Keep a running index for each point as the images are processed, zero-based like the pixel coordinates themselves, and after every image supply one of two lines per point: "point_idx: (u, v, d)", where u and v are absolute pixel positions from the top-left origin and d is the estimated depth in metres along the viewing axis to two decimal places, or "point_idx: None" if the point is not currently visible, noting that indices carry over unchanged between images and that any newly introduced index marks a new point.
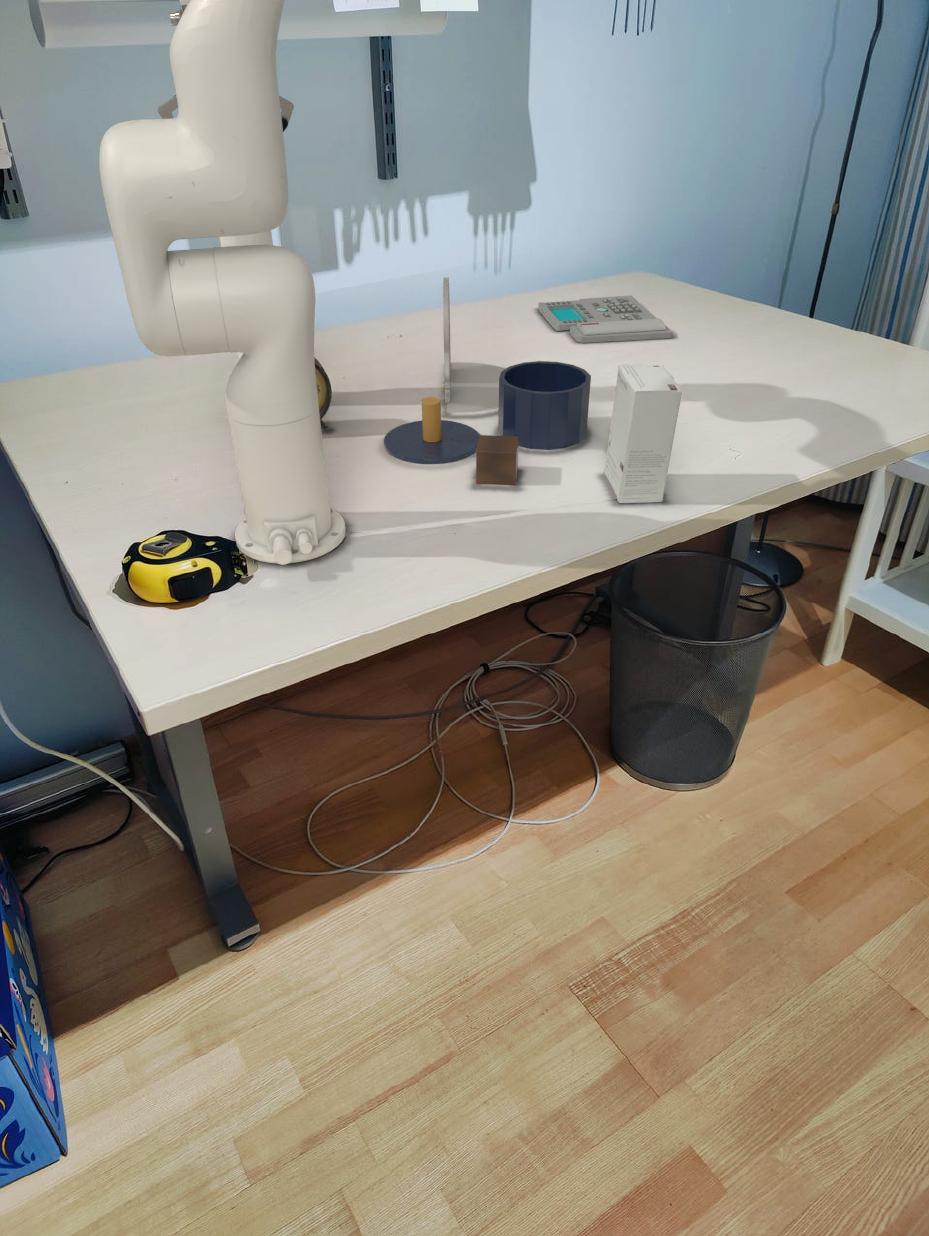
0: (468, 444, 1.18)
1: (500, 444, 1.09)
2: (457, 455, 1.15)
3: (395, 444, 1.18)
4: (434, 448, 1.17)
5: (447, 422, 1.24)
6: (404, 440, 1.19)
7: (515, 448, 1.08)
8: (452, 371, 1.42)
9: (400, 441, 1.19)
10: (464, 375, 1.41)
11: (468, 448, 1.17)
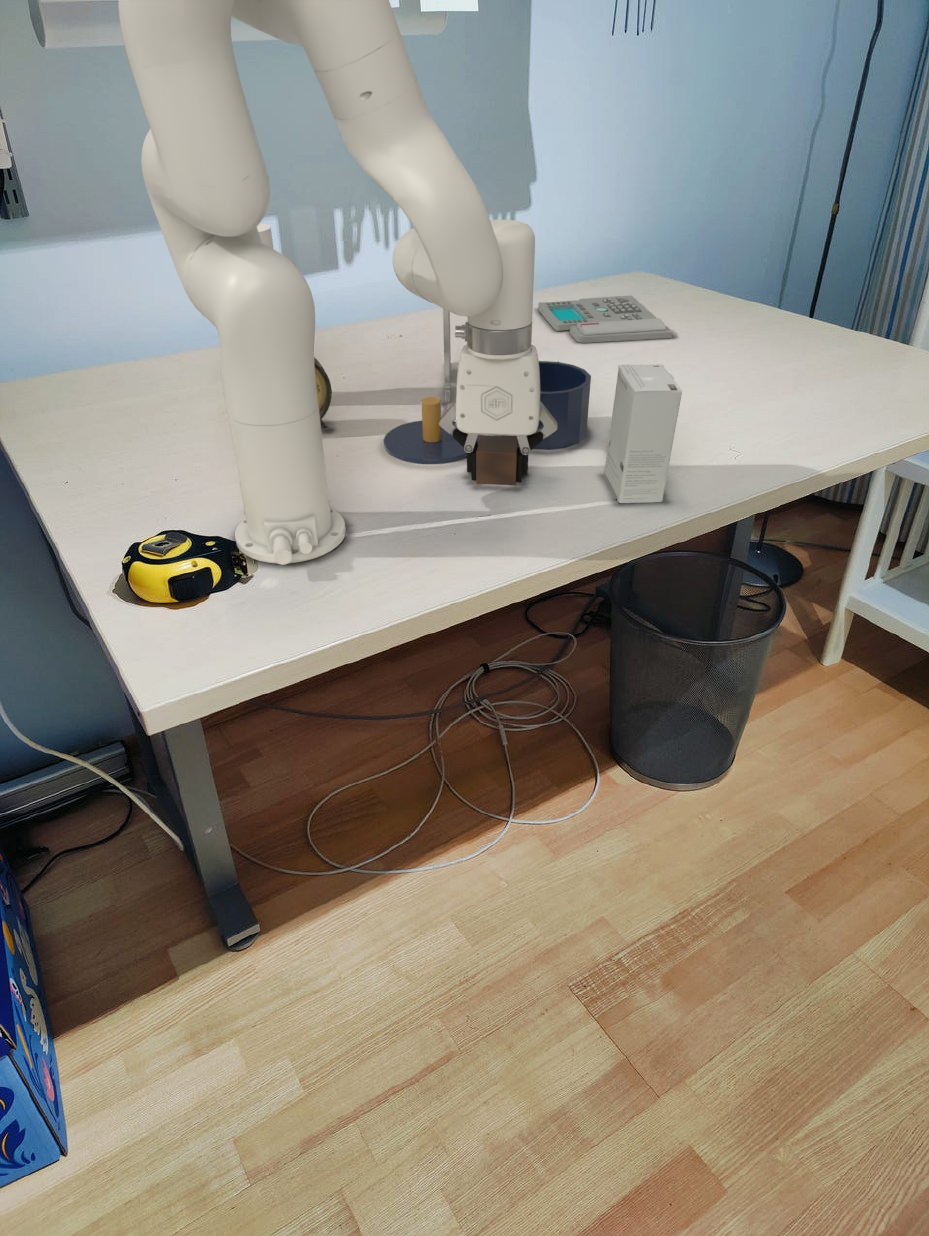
0: None
1: (500, 444, 1.09)
2: (457, 455, 1.15)
3: (395, 444, 1.18)
4: (434, 448, 1.17)
5: None
6: (404, 440, 1.19)
7: (515, 448, 1.08)
8: (452, 371, 1.42)
9: (400, 441, 1.19)
10: None
11: None
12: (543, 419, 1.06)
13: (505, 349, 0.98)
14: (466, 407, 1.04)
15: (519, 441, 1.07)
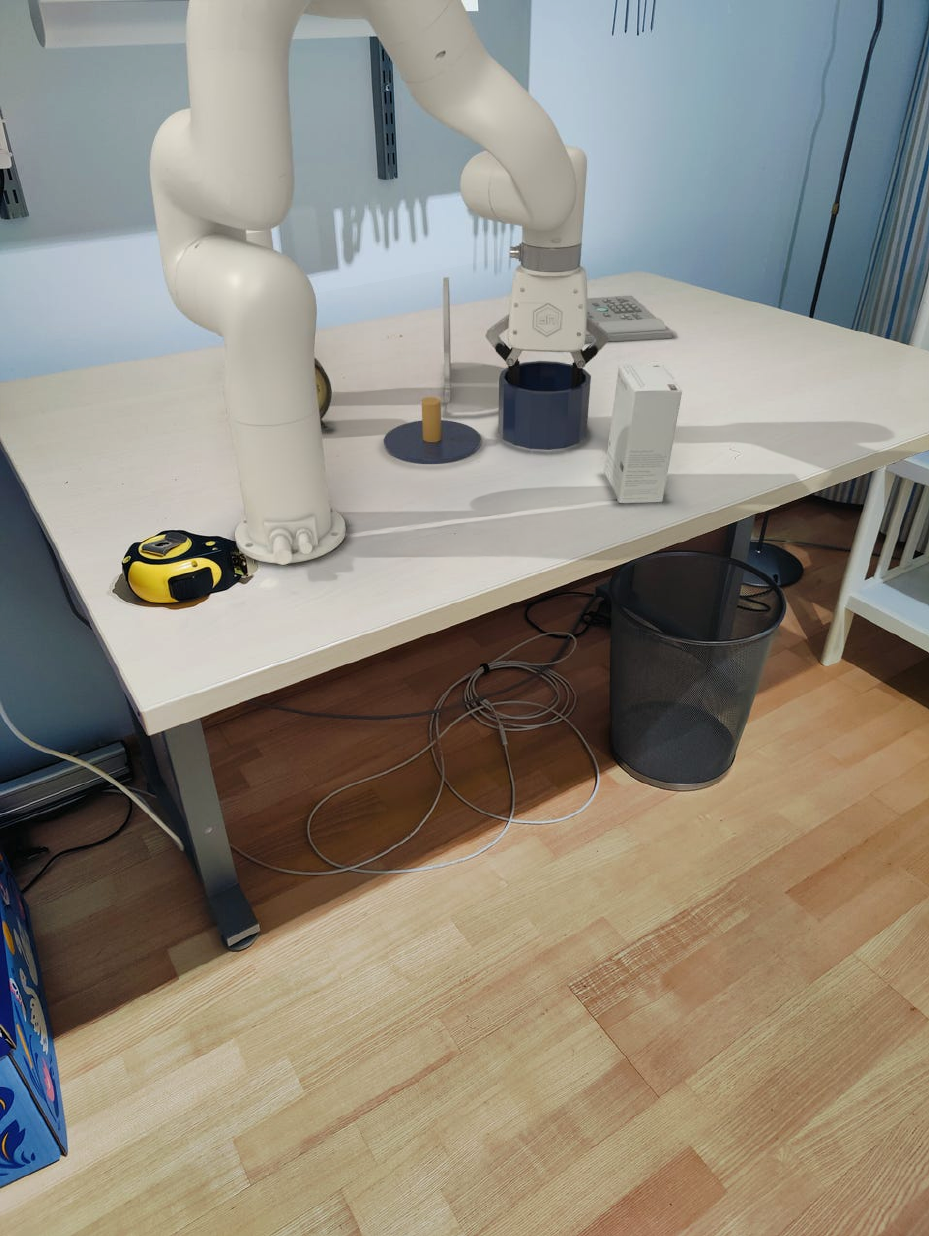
0: (468, 444, 1.18)
1: None
2: (457, 455, 1.15)
3: (395, 444, 1.18)
4: (434, 448, 1.17)
5: (447, 422, 1.24)
6: (404, 440, 1.19)
7: None
8: (452, 371, 1.42)
9: (400, 441, 1.19)
10: (464, 375, 1.41)
11: (468, 448, 1.17)
12: (594, 333, 1.13)
13: (557, 266, 1.06)
14: (518, 324, 1.12)
15: (573, 356, 1.15)
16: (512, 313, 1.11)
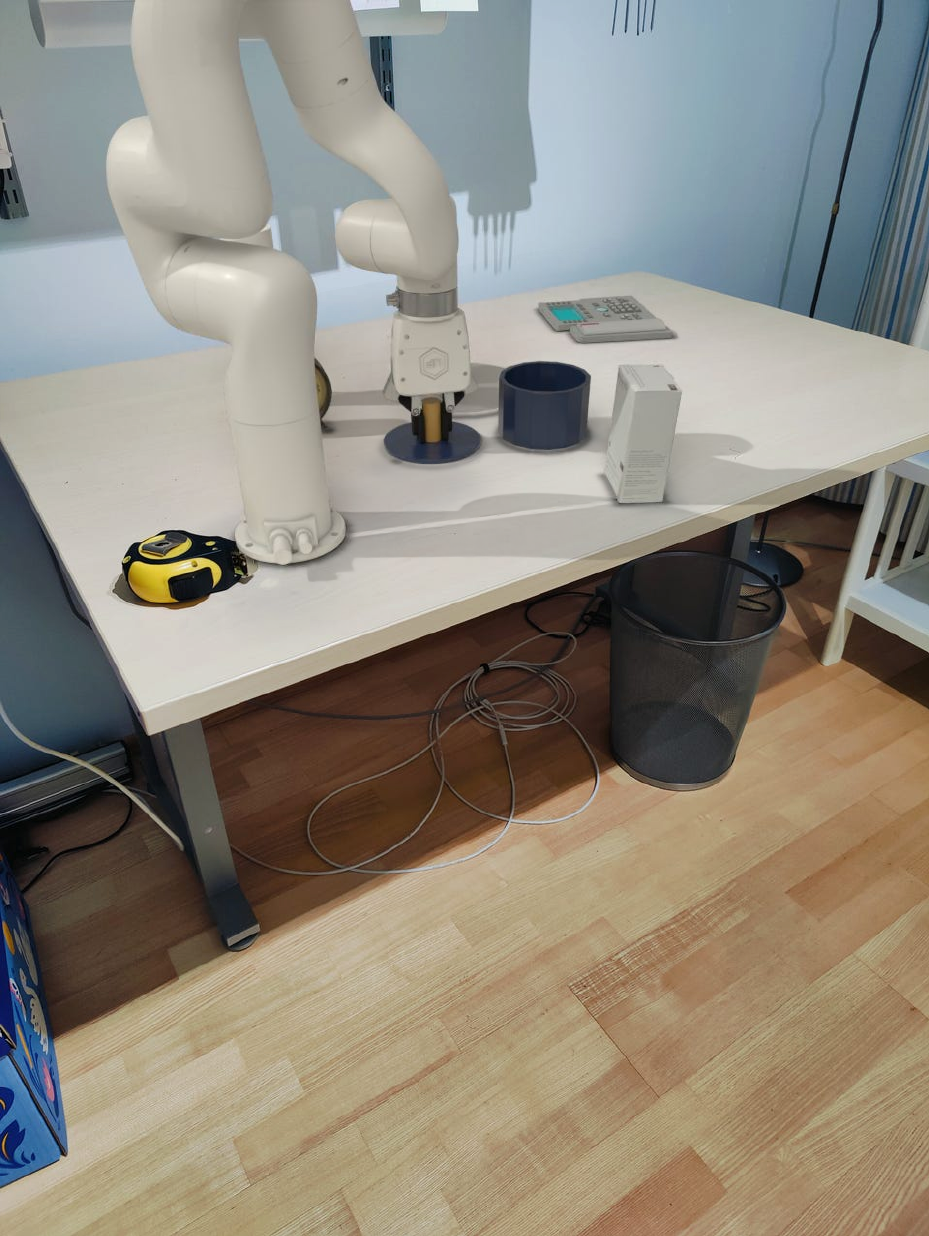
0: (468, 444, 1.18)
1: None
2: (457, 455, 1.15)
3: (395, 444, 1.18)
4: (434, 448, 1.17)
5: None
6: (404, 440, 1.19)
7: None
8: None
9: (400, 441, 1.19)
10: None
11: (468, 448, 1.17)
12: None
13: (441, 310, 1.06)
14: (406, 371, 1.10)
15: (446, 399, 1.15)
16: (398, 361, 1.09)
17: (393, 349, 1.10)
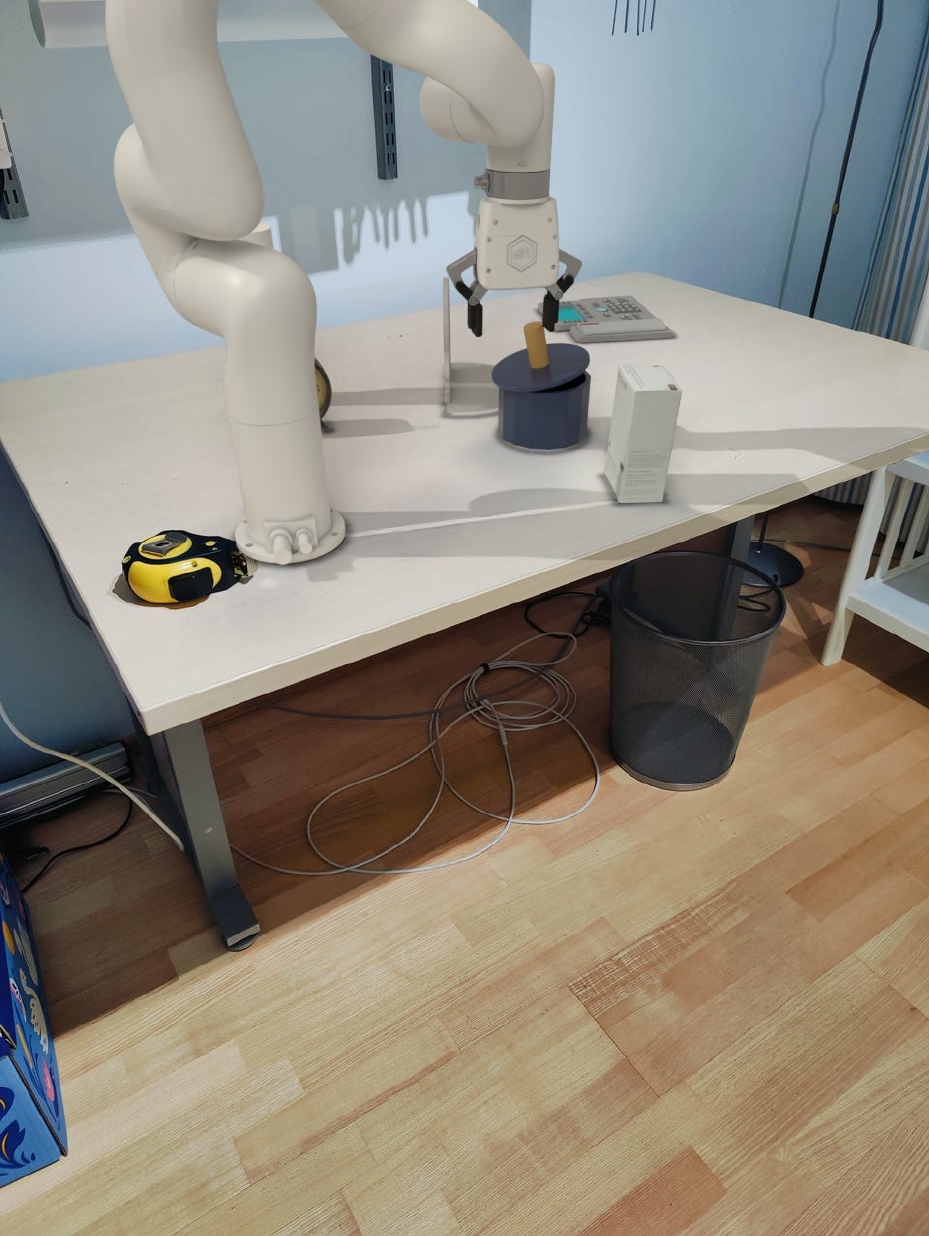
0: (578, 362, 1.15)
1: None
2: (569, 375, 1.12)
3: (503, 377, 1.16)
4: (544, 373, 1.14)
5: (551, 345, 1.21)
6: (512, 371, 1.17)
7: None
8: (452, 371, 1.42)
9: (508, 373, 1.17)
10: (464, 375, 1.41)
11: (578, 366, 1.14)
12: (566, 261, 1.08)
13: (534, 192, 1.00)
14: (492, 261, 1.04)
15: (550, 289, 1.09)
16: (485, 249, 1.03)
17: (479, 237, 1.03)
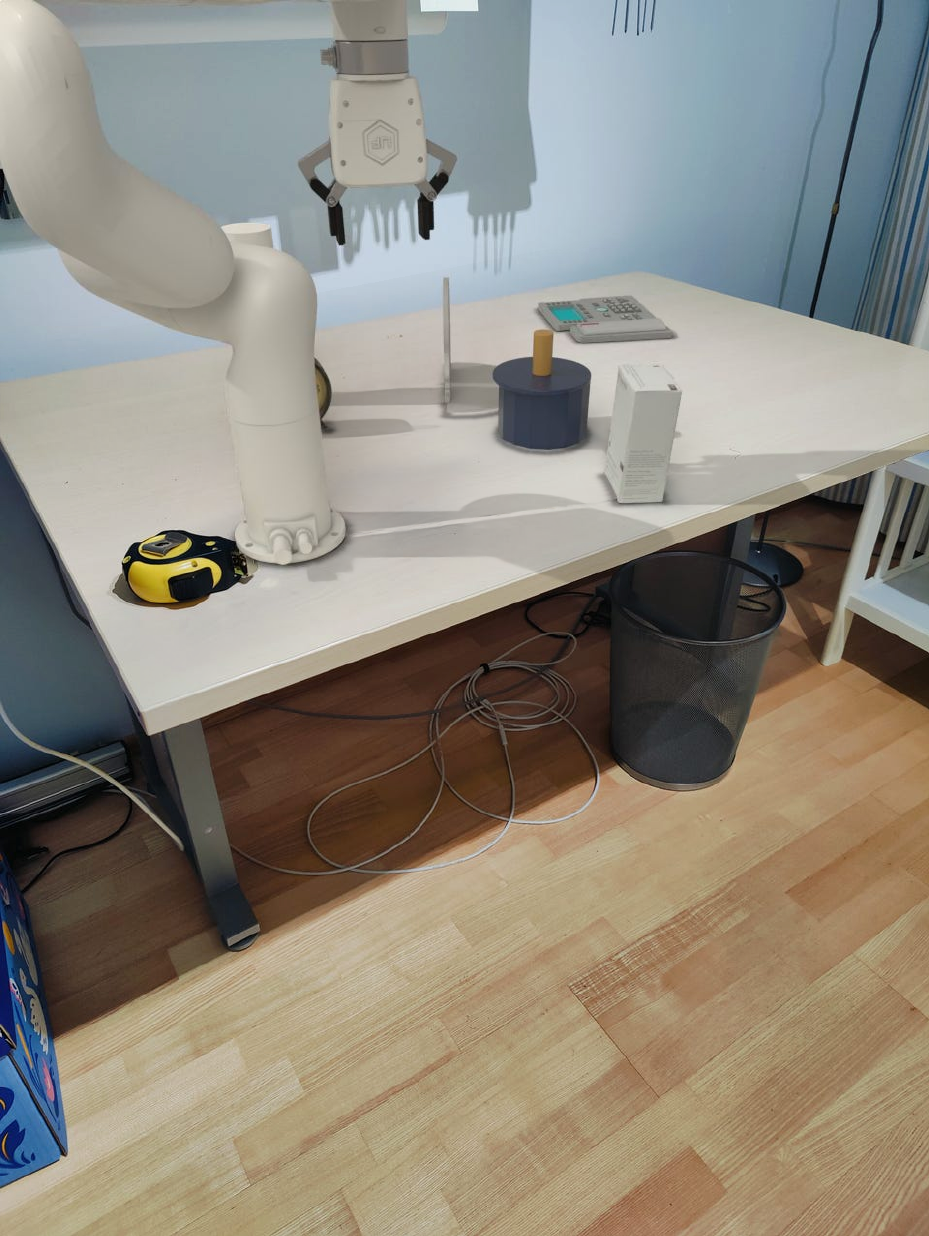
0: (580, 377, 1.16)
1: None
2: (571, 387, 1.13)
3: (505, 377, 1.16)
4: (546, 381, 1.15)
5: (553, 358, 1.22)
6: (514, 374, 1.17)
7: None
8: (452, 371, 1.42)
9: (510, 375, 1.17)
10: (464, 375, 1.41)
11: (580, 381, 1.15)
12: (438, 154, 0.94)
13: (387, 66, 0.86)
14: (346, 151, 0.90)
15: (420, 188, 0.95)
16: (337, 137, 0.89)
17: (330, 123, 0.90)
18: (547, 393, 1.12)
